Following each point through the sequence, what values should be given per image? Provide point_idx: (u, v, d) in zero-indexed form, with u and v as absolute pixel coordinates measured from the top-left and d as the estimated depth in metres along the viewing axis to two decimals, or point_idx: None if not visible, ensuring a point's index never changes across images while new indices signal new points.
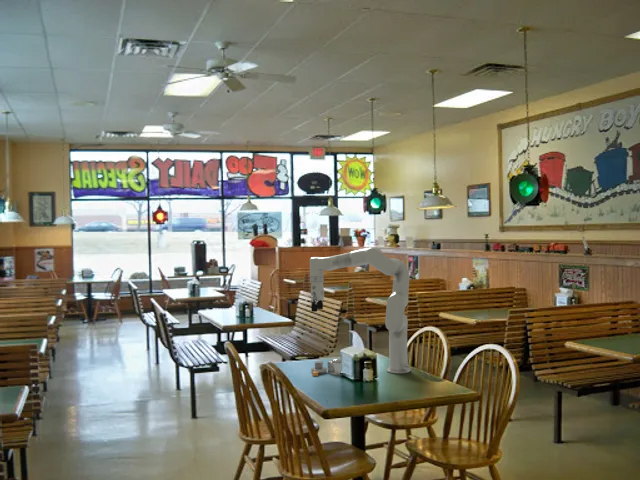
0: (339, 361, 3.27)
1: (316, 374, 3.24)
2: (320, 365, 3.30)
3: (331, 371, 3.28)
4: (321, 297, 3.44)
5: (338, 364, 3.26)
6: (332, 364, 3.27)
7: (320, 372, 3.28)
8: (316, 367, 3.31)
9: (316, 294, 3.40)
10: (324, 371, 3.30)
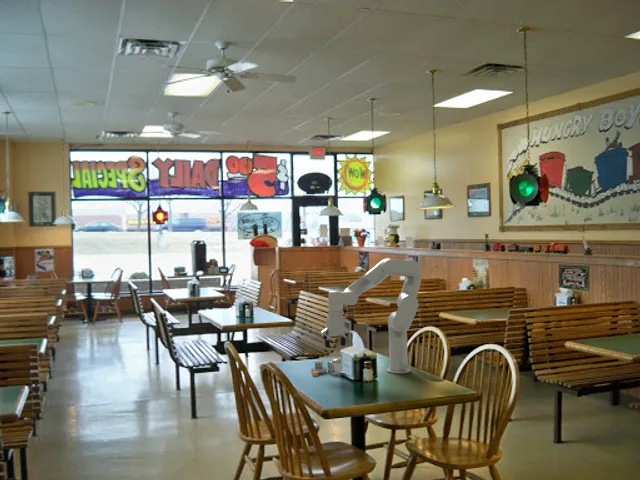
0: (339, 361, 3.27)
1: (316, 374, 3.24)
2: (320, 365, 3.30)
3: (331, 371, 3.28)
4: None
5: (338, 364, 3.26)
6: (332, 364, 3.27)
7: (320, 372, 3.28)
8: (316, 367, 3.31)
9: None
10: (324, 371, 3.30)
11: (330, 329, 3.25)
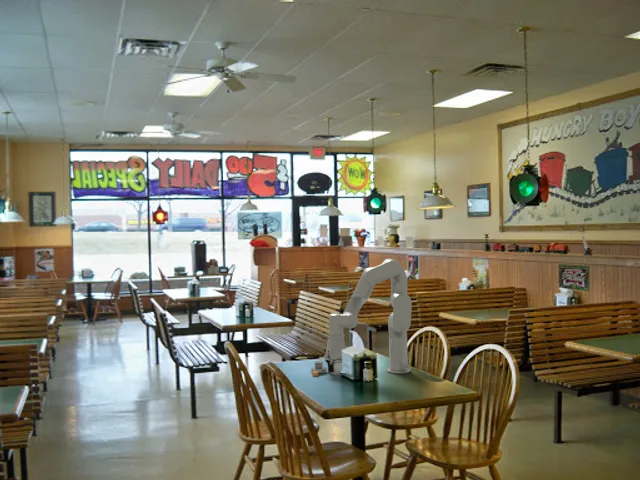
0: (339, 361, 3.27)
1: (316, 374, 3.24)
2: (320, 365, 3.30)
3: None
4: None
5: (338, 364, 3.26)
6: (332, 364, 3.27)
7: (320, 372, 3.28)
8: (316, 367, 3.31)
9: None
10: (324, 371, 3.30)
11: (331, 352, 3.26)
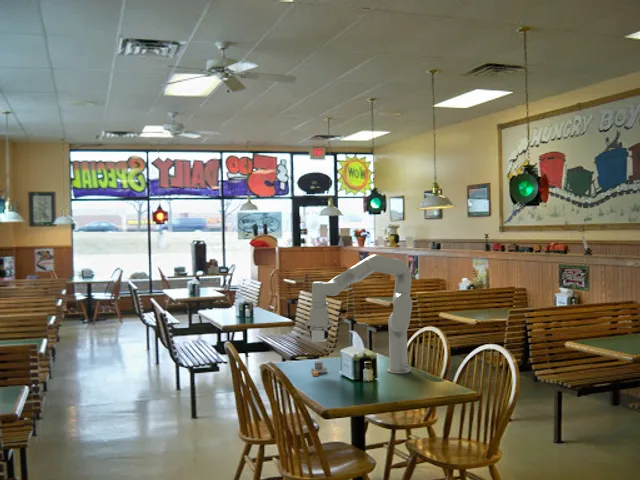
0: (318, 329, 3.29)
1: (316, 374, 3.24)
2: (320, 365, 3.30)
3: None
4: None
5: (315, 331, 3.29)
6: None
7: (320, 372, 3.28)
8: (316, 367, 3.31)
9: None
10: (324, 371, 3.30)
11: (310, 319, 3.30)
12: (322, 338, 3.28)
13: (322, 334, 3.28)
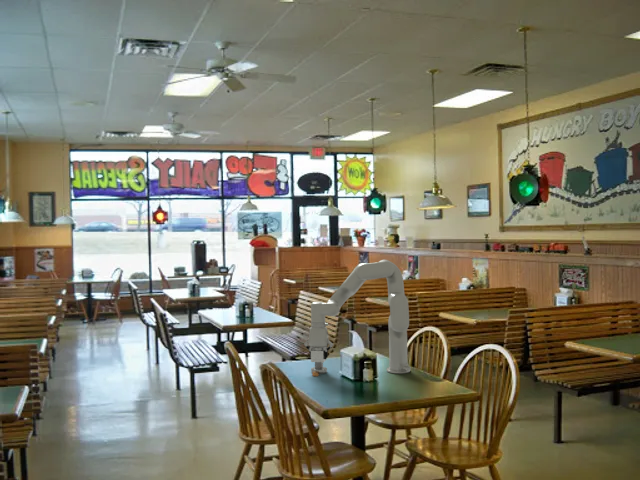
0: (317, 349, 3.30)
1: (316, 374, 3.24)
2: (320, 365, 3.30)
3: None
4: None
5: (314, 351, 3.29)
6: None
7: (320, 372, 3.28)
8: (316, 367, 3.31)
9: None
10: (324, 371, 3.30)
11: (309, 339, 3.31)
12: (321, 358, 3.28)
13: (321, 354, 3.28)
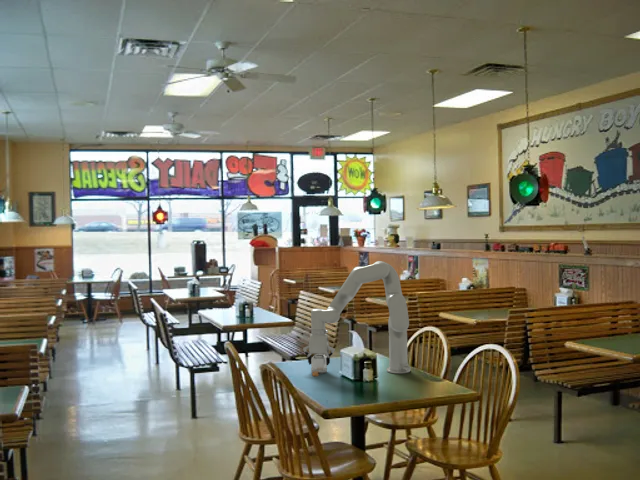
0: (317, 357, 3.30)
1: (316, 374, 3.24)
2: None
3: None
4: None
5: (315, 359, 3.29)
6: None
7: (320, 372, 3.28)
8: None
9: None
10: (324, 371, 3.30)
11: (310, 346, 3.31)
12: (322, 366, 3.29)
13: (322, 362, 3.29)
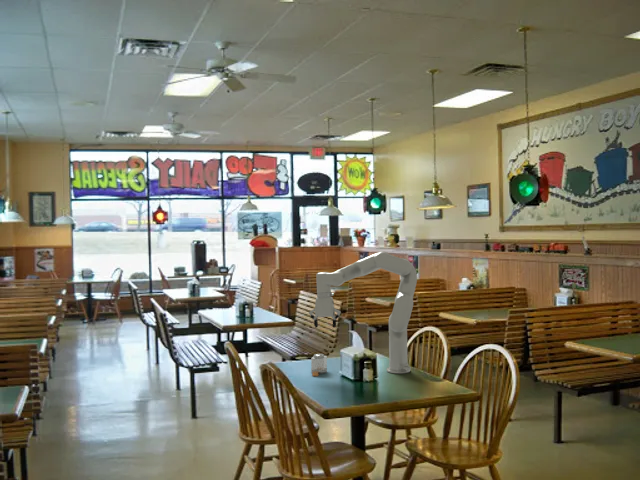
0: (317, 357, 3.30)
1: (316, 374, 3.24)
2: None
3: None
4: None
5: (315, 359, 3.29)
6: None
7: (320, 372, 3.28)
8: None
9: None
10: (324, 371, 3.30)
11: (316, 310, 3.34)
12: (322, 366, 3.29)
13: (322, 362, 3.29)
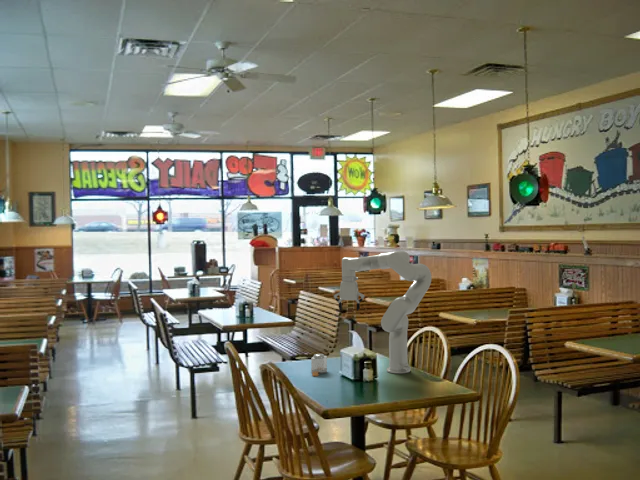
0: (317, 357, 3.30)
1: (316, 374, 3.24)
2: None
3: None
4: None
5: (315, 359, 3.29)
6: None
7: (320, 372, 3.28)
8: None
9: None
10: (324, 371, 3.30)
11: (340, 293, 3.48)
12: (322, 366, 3.29)
13: (322, 362, 3.29)
